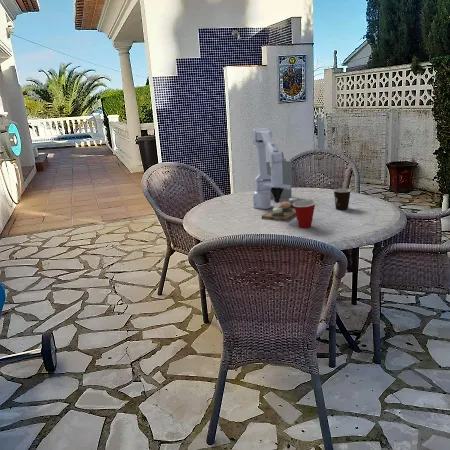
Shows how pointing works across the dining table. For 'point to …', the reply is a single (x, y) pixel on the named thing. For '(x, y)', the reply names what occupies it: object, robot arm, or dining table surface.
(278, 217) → the button board
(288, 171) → the grey upright box
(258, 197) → the robot arm
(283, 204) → the terracotta button
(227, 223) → the dining table surface
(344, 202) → the coffee mug
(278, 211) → the sage button
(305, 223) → the plastic cup
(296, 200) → the slate button
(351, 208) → the dining table surface
